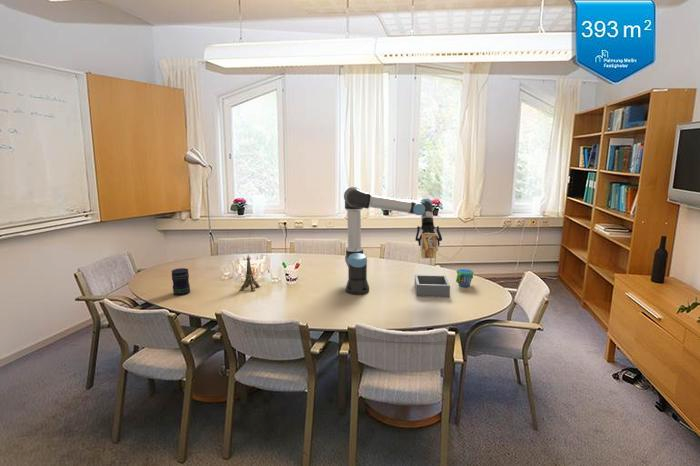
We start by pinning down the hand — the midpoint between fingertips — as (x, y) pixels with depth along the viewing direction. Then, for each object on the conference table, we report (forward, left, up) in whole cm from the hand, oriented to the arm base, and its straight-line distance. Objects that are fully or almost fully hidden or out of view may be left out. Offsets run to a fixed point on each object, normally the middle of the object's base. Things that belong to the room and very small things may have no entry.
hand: (429, 250), depth 255 cm
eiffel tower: (-114, -2, -28) cm, 118 cm away
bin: (+3, +3, -28) cm, 28 cm away
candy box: (0, +3, -6) cm, 7 cm away
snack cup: (+26, +16, -28) cm, 41 cm away
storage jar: (-154, -14, -28) cm, 158 cm away
